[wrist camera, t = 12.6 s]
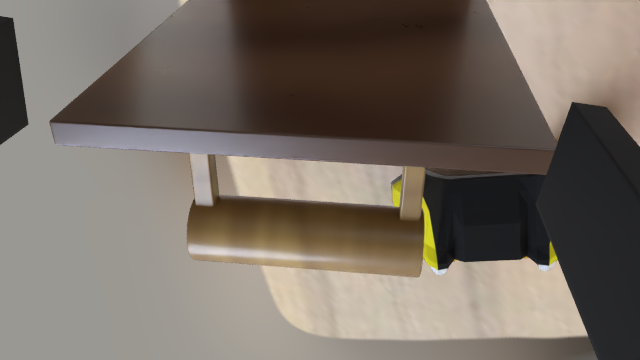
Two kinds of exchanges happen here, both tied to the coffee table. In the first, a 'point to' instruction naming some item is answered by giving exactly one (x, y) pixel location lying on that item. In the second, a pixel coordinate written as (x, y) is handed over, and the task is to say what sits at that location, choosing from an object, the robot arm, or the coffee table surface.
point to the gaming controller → (482, 219)
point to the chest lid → (318, 117)
